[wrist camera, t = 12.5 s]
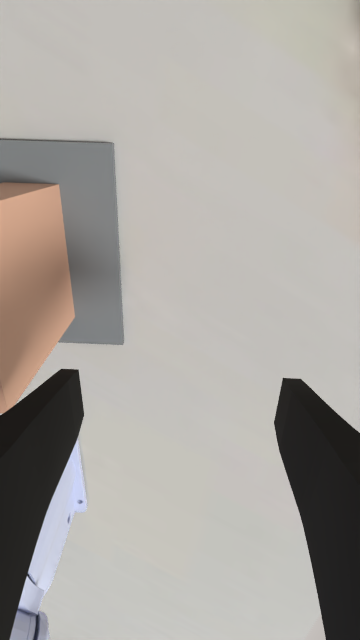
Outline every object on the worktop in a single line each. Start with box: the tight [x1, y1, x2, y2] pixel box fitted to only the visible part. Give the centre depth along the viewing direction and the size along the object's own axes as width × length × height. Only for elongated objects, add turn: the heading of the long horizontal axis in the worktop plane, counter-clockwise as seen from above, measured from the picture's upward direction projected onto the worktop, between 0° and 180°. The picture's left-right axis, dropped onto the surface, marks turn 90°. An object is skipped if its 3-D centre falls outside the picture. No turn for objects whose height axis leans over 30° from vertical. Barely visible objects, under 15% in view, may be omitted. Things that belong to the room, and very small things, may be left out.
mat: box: [0, 140, 124, 345], centre depth 21 cm, size 12×9×1 cm
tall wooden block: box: [0, 182, 75, 413], centre depth 16 cm, size 8×3×9 cm, turn 178°
